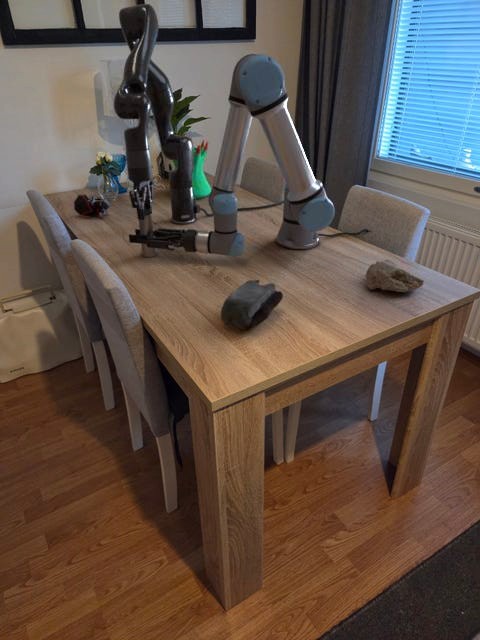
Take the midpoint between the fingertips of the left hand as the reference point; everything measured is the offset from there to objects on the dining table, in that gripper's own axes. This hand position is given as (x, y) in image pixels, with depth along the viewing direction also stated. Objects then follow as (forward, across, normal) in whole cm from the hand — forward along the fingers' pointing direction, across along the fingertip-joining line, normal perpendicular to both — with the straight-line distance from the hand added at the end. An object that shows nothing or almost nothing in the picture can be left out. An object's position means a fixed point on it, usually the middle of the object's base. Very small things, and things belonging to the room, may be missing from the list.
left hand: (145, 216), depth 148 cm
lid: (-3, 0, 0) cm, 3 cm away
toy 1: (+14, -32, -40) cm, 53 cm away
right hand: (+7, 0, -5) cm, 9 cm away
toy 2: (+14, -72, -10) cm, 74 cm away
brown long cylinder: (+14, 0, 0) cm, 14 cm away
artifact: (+14, +3, +80) cm, 81 cm away
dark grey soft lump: (+14, +32, +44) cm, 57 cm away
